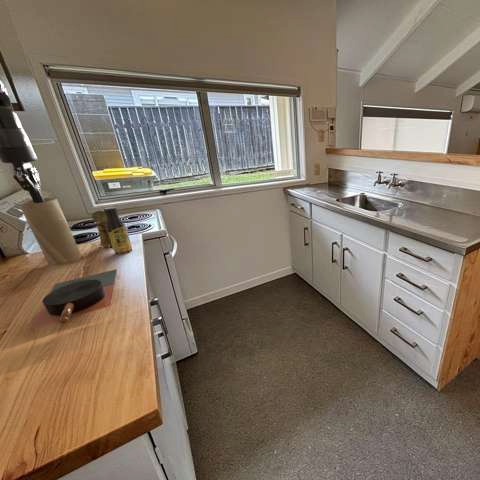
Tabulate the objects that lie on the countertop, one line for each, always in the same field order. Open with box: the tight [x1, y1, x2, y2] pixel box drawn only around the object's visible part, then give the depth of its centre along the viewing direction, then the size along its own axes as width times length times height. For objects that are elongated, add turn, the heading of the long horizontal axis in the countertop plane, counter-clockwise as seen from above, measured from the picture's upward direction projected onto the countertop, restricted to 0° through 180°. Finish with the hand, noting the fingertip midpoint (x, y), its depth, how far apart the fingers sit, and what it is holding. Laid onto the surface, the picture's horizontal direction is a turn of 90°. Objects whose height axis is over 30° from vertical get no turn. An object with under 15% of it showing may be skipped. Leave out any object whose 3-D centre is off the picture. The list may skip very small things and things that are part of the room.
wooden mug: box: [91, 210, 112, 248], centre depth 115 cm, size 9×14×18 cm, turn 35°
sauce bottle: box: [103, 206, 133, 256], centre depth 106 cm, size 7×6×20 cm
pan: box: [42, 280, 106, 325], centre depth 72 cm, size 13×21×4 cm, turn 33°
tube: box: [18, 197, 83, 267], centre depth 100 cm, size 10×10×25 cm
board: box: [28, 268, 118, 330], centre depth 80 cm, size 17×27×1 cm, turn 33°
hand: (39, 202), depth 83 cm, fingers closed
